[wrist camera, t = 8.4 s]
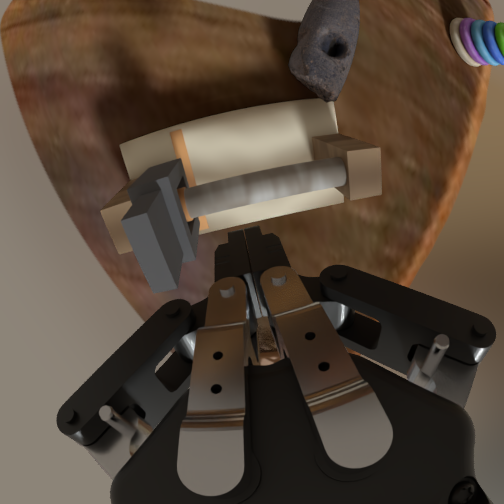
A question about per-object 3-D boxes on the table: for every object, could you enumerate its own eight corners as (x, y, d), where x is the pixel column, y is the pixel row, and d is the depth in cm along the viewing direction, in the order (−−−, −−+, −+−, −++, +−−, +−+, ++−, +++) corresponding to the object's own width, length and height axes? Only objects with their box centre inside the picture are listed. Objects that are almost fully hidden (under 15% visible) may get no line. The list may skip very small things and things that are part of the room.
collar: (148, 167, 22) (105, 212, 13) (180, 157, 22) (154, 196, 13) (170, 230, 25) (148, 303, 16) (200, 223, 25) (192, 294, 16)
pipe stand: (123, 143, 24) (82, 163, 16) (328, 97, 24) (375, 97, 16) (156, 240, 30) (138, 292, 22) (339, 198, 30) (380, 236, 22)
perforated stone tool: (310, -19, 17) (334, -43, 11) (353, 0, 18) (385, -17, 12) (272, 88, 24) (290, 83, 18) (319, 105, 25) (348, 107, 19)
